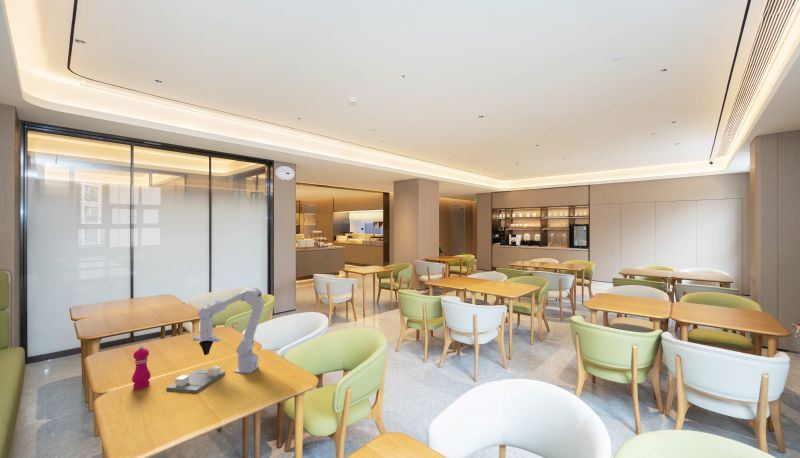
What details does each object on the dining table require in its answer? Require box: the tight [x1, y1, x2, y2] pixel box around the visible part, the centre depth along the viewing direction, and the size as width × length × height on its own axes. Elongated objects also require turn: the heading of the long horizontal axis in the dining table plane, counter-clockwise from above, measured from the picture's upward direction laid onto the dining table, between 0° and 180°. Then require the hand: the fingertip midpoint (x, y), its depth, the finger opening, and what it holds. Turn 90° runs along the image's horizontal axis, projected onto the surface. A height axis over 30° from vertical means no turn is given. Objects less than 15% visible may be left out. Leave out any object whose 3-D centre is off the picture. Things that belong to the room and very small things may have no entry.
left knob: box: [174, 374, 189, 386], centre depth 163 cm, size 4×4×3 cm
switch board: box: [166, 368, 226, 394], centre depth 168 cm, size 16×20×2 cm
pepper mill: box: [131, 345, 151, 391], centre depth 163 cm, size 7×7×20 cm
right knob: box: [207, 365, 222, 376], centre depth 173 cm, size 4×4×3 cm
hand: (206, 354), depth 180 cm, fingers closed
